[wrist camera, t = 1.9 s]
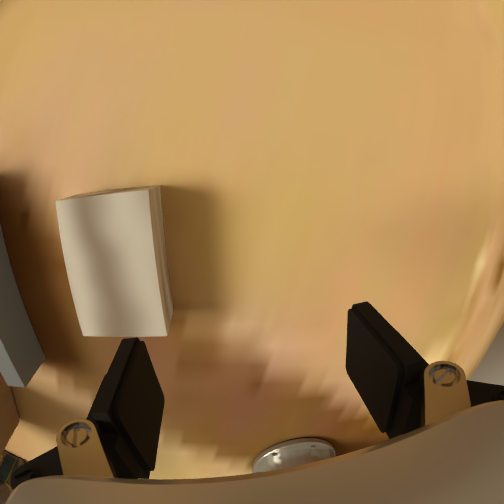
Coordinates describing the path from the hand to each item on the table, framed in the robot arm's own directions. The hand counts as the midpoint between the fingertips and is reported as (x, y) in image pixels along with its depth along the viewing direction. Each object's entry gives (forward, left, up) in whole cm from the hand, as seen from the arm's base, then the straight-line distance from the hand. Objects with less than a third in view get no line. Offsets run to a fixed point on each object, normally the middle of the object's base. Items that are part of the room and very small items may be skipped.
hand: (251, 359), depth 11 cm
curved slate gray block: (+26, 0, -18) cm, 32 cm away
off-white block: (+10, 0, -18) cm, 21 cm away
